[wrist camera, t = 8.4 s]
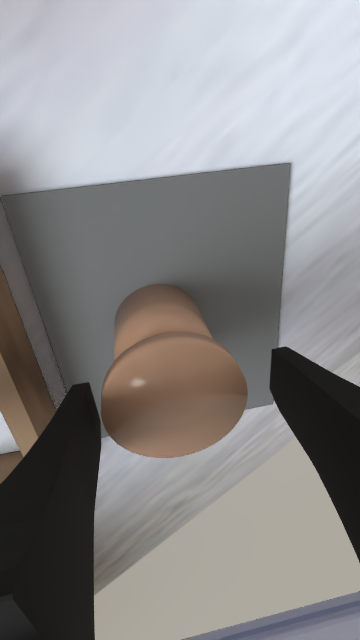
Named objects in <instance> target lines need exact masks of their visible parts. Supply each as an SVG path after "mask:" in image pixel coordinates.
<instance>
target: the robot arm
mask: <svg viewBox="0 0 360 640" xmlns="http://www.w3.org/2000/svg"><path fill="white" fill-rule="evenodd" d="M269 389H270V391H271V394H272V396H273V398H274V400H275V402H276V404H277V407H278V409H279V411H280V412H281V414H282V416H283V417H284V419H285V420H286V422H287V424H288V425H289V427H290V428H291V430H292V431H293V433H294V435H295V436H296V438H297V439H298V441H299V442H300V444H301V445H302V447H303V449H304V450H305V452H306V453H307V455H308V456H309V458H310V460H311V461H312V463H313V465H314V466H315V468H316V470H317V472H318V474H319V476H320V478H321V480H322V482H323V484H324V486H325V488H326V490H327V492H328V494H329V496H330V498H331V500H332V502H333V504H334V506H335V508H336V510H337V513H338V515H339V517H340V519H341V521H342V523H343V525H344V527H345V530H346V532H347V534H348V537H349V539H350V541H351V543H352V545H353V548H354V550H355V552H356V554H357V557H358V559H359V562H360V387H359V386H357V385H355V384H353V383H351V382H349V381H347V380H345V379H343V378H341V377H339V376H337V375H335V374H333V373H332V372H330V371H328V370H326V369H324V368H323V367H321V366H319V365H317V364H316V363H314V362H312V361H311V360H309V359H307V358H305V357H304V356H302V355H300V354H299V353H297V352H295V351H293V350H292V349H290V348H288V347H281V348H276V349H272V352H271V369H270V385H269ZM100 452H101V420H100V417H99V413H98V410H97V407H96V403H95V400H94V396H93V393H92V390H91V386H90V383H89V382H86V383H80V384H75V385H72V386H71V388H70V389H69V391H68V393H67V394H66V396H65V398H64V399H63V401H62V403H61V404H60V406H59V408H58V409H57V411H56V412H55V414H54V416H53V417H52V419H51V420H50V422H49V423H48V425H47V426H46V428H45V429H44V431H43V432H42V433H41V435H40V436H39V438H38V439H37V440H36V442H35V443H34V444H33V446H32V447H31V449H30V450H29V451H28V452H27V454H26V455H25V456H24V457H23V459H22V460H21V461H20V462H19V464H18V465H17V466H16V467H15V468H14V469H13V471H12V472H11V473H10V474H9V475H8V476H7V478H6V479H5V480H4V481H3V482H2V483H1V484H0V640H95V634H94V510H95V499H96V490H97V480H98V471H99V462H100ZM182 640H360V591H359V592H356V593H352V594H348V595H345V596H341V597H337V598H333V599H330V600H326V601H322V602H319V603H316V604H312V605H308V606H304V607H300V608H297V609H293V610H289V611H285V612H282V613H278V614H274V615H271V616H267V617H263V618H260V619H256V620H253V621H249V622H245V623H241V624H237V625H234V626H230V627H226V628H223V629H219V630H215V631H211V632H208V633H204V634H200V635H197V636H193V637H189V638H186V639H182Z"/></svg>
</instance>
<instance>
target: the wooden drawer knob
mask: <svg viewBox="0 0 360 640" xmlns="http://www.w3.org/2000/svg"><path fill="white" fill-rule="evenodd" d="M247 397H248V388H247V383H246V379H245V377H244V375H243V372H242V371H241V369H240V367H239V365H238V363H237V361H236V360H235V358H234V357H233V355H232V354H231V352H230V351H229V350H228V349H227V348H226V347H225V346H223V345H222V344H221V343H219V342H218V341H216V340H214V339H213V337H212V335H211V333H210V331H209V329H208V327H207V325H206V323H205V321H204V319H203V317H202V315H201V313H200V311H199V309H198V307H197V305H196V303H195V301H194V300H193V299H192V298H191V296H190V295H188V294H187V293H186V292H185V291H183V290H181V289H179V288H177V287H174V286H171V285H165V284H155V285H149V286H145V287H142V288H140V289H138V290H136V291H134V292H133V293H131V294H130V295H129V296H127V297H126V298H125V299H124V301H123V302H122V303H121V305H120V306H119V308H118V310H117V312H116V315H115V321H114V362H113V364H112V365H111V366H110V368H109V370H108V371H107V373H106V375H105V378H104V381H103V385H102V393H101V418H102V422H103V425H104V428H105V429H106V431H107V433H108V434H109V435H110V437H111V438H112V439H113V440H114V441H115V442H116V443H117V444H119V445H120V446H122V447H123V448H125V449H127V450H129V451H131V452H133V453H136V454H139V455H143V456H147V457H154V458H173V457H180V456H185V455H189V454H192V453H195V452H198V451H201V450H203V449H205V448H207V447H209V446H211V445H213V444H215V443H216V442H218V441H219V440H221V439H222V438H223V437H224V436H226V435H227V434H228V433H229V432H230V431H231V430H232V429H233V428H234V426H235V425H236V424H237V423H238V421H239V420H240V418H241V416H242V414H243V412H244V410H245V407H246V403H247Z"/></svg>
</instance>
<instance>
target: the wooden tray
mask: <svg viewBox="0 0 360 640" xmlns="http://www.w3.org/2000/svg"><path fill="white" fill-rule="evenodd" d="M0 411H1V413H2V415H3V417H4V419H5V421H6V423H7V425H8V427H9V429H10V431H11V433H12V435H13V437H14V439H15V441H16V443H17V445H18V447H19V449H20V451H17V452H12V453H7V454H2V455H0V484H1V483H2V482H3V481H4V480H5V479H6V478H7V476H8V475H9V474H10V473H11V472H12V471H13V469H14V468H15V467H16V466H17V465H18V464H19V462H20V461H21V460H22V459H23V457H24V456H25V455H26V454H27V452H28V451H29V450H30V449H31V447H32V446H33V444H34V443H35V442H36V440H37V439H38V438H39V436H40V435H41V433H42V432H43V431H44V429H45V428H46V426H47V425H48V423H49V422H50V420H51V419H52V417H53V416H54V414H55V412H56V410H55V407H54V404H53V402H52V399H51V397H50V394H49V391H48V389H47V386H46V384H45V381H44V378H43V376H42V373H41V370H40V368H39V365H38V363H37V360H36V357H35V355H34V352H33V349H32V347H31V344H30V342H29V339H28V336H27V334H26V331H25V329H24V326H23V323H22V321H21V318H20V315H19V313H18V310H17V308H16V305H15V302H14V300H13V297H12V294H11V292H10V289H9V287H8V284H7V281H6V279H5V276H4V274H3V271H2V268H1V266H0Z"/></svg>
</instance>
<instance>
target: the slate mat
mask: <svg viewBox="0 0 360 640" xmlns="http://www.w3.org/2000/svg"><path fill="white" fill-rule="evenodd" d="M290 164H291V163H285V164H277V165H268V166H259V167H250V168H242V169H233V170H224V171H216V172H207V173H198V174H190V175H181V176H172V177H164V178H155V179H146V180H137V181H129V182H120V183H111V184H103V185H94V186H85V187H77V188H68V189H59V190H50V191H42V192H33V193H24V194H16V195H7V196H1V197H0V199H1V201H2V204H3V207H4V210H5V213H6V216H7V219H8V222H9V225H10V228H11V230H12V233H13V236H14V239H15V242H16V245H17V248H18V251H19V254H20V257H21V259H22V262H23V265H24V268H25V271H26V274H27V277H28V280H29V283H30V286H31V288H32V291H33V294H34V297H35V300H36V303H37V306H38V309H39V312H40V315H41V317H42V320H43V323H44V326H45V329H46V332H47V335H48V338H49V341H50V344H51V346H52V349H53V352H54V355H55V358H56V361H57V364H58V367H59V370H60V373H61V375H62V378H63V381H64V384H65V387H66V390H67V393H68V391H69V389H70V388H71V386H72V385H75V384H80V383H86V382H89V383H90V386H91V390H92V393H93V396H94V400H95V403H96V407H97V410H98V413H99V417H100V420H101V438H102V437H107V436H110V435H109V434H108V433H107V431H106V429H105V428H104V425H103V422H102V418H101V393H102V385H103V381H104V378H105V375H106V373H107V371H108V370H109V368H110V366H111V365H112V364H113V362H114V321H115V315H116V312H117V310H118V308H119V306H120V305H121V303H122V302H123V301H124V299H125V298H126V297H127V296H129V295H130V294H131V293H133V292H134V291H136V290H138V289H140V288H142V287H145V286H149V285H155V284H165V285H171V286H174V287H177V288H179V289H181V290H183V291H185V292H186V293H187V294H188V295H190V296H191V298H192V299H193V300H194V301H195V303H196V305H197V307H198V309H199V311H200V313H201V315H202V317H203V319H204V321H205V323H206V325H207V327H208V329H209V331H210V333H211V335H212V337H213V339H214V340H216V341H218V342H219V343H221V344H222V345H223V346H225V347H226V348H227V349H228V350H229V351H230V352H231V354H232V355H233V357H234V358H235V360H236V361H237V363H238V365H239V367H240V369H241V371H242V372H243V375H244V377H245V379H246V383H247V388H248V397H247V403H246V407H245V410H246V409H251V408H256V407H261V406H266V405H271V404H273V400H274V398H273V396H272V394H271V391H270V389H269V385H270V369H271V352H272V349H276V348H277V344H278V330H279V316H280V302H281V289H282V275H283V261H284V247H285V233H286V219H287V205H288V192H289V178H290Z"/></svg>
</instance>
